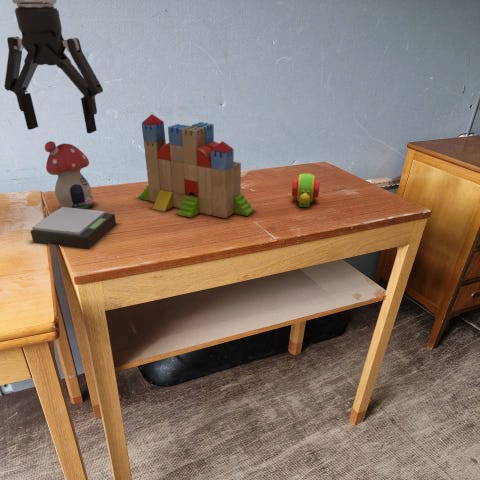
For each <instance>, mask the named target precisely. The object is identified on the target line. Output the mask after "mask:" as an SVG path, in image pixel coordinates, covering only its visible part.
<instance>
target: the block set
mask: <svg viewBox="0 0 480 480" xmlns="http://www.w3.org/2000/svg"><path fill="white" fill-rule="evenodd" d="M214 127H215V125H214V123H212V122H211V123H210V122H202V121H199V122H196V123H193V124H191V125H188V124H187V125H185V124H179V123H176V124H174V125H169V126H168V127H167V135H168V143H167V141H166V132H165V122H164V120H162V119H160V118H159V117H158V116H156V115H155V114H153V113H151V114H149V116H148V117H146V118H145V119H144V120H143V121H142V122H141V130H142V131H141V132H142V137H143V138H142V139H143V148H144V158H145V165H146V175H147V176H146V177H147V184H148V185H147V186H146V187H145V188H144V189H143V191H142V192H141V193H140V194H138V199H139V200H144V201H147V202H152V203H154V204H153V206H152V209H153V210H157V211H160V212H166V211H169V210H170V209H171V208H173V207H174V208H178V209H179V210H178V211H177V215H178V216H182V217H185V218H192V217H194V216H196V215H198V214H199V213H200V214H204V215H209V216H214V217H218V218H222V219H227V218H229V217H230V216H232V215H233V214H237V215H241V216H247V217H248V216H249V215H250V214H252V213H253V212H254V211H255V207H253V206H252V204H251V203H250V202H248V198H245V194H243V193H241V192H242V191H241V187H242V186H241V185H242V162H240V161H234V159H235V156H234V154H235V153H234V152H235V150H234V148H233V147H232V146H230V145H229V144H228V143H227V142H225V141H220V143H219V142H217V141H215V140H214V139H215V137H214V136H215V133H214V130H215V128H214Z"/></svg>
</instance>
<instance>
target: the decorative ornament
mask: <svg viewBox="0 0 480 480" xmlns="http://www.w3.org/2000/svg"><path fill="white" fill-rule="evenodd" d="M44 151H45V152H47V153H49V154H48V156H47V159H46V163H45V169H46V172H47V173H48V174H49V175H52V176H57V179H56V182H55V186H54V191H55V192H54V194H55V197H56V199H57V201H58V203H59V204H60V206H61V207H68V208H77V209H87V210H91V208H93V207H94V198H93V195H92V189H91V185H90V184H89V181H88V180H87V178H86V177H85V176H84V175H83V174H82V173H81V170H83V169H84V168H86V167H88V166H89V165H90V160H89V159H88V157H87V156H86V154H85V153H84V152H83V151H82V150H81V149H79V148H78V147H77V146H75V145H74V144H70V143H61V144H58V145H56V143H55V142H54V141H51V140H50V141H47V142H46V143H45V144H44Z"/></svg>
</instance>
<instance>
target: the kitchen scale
mask: <svg viewBox="0 0 480 480" xmlns="http://www.w3.org/2000/svg"><path fill="white" fill-rule="evenodd" d="M116 225H117V222H116V216H115V213H110V212H109V213H108V212H106V211H105V210H97V209H96V210H95V209H77V208H68V207H62V206H61V207H59V208H58V209H56V210H55V211H54V212H52V213H50V214H49V215H48V216H46V217H45V218H43V219H42V220H41V221H38V223H36V224H34V225H33V226H31V228H32V229H31V230H30V235H31V238H32V241H33V243H38V244H46V245H55V246H62V247H63V246H64V247H70V248H71V247H73V248H81V249H91V248H92V247H93V246H94V245H95V244H96V243H97V242H98V241H99V240H101V239H102V238H103V237H104V236H105V235H106V234H107V233H108V232H109V231H111V230H112V229H113V228H114V227H116Z"/></svg>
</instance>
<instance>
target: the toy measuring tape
mask: <svg viewBox="0 0 480 480" xmlns="http://www.w3.org/2000/svg"><path fill="white" fill-rule="evenodd" d="M315 177H316V176H315V175H313V173H301V174H298V178H295V179H293V180H292V184H291V185H292V186H291V196H292V197H294V198H296V202H298V207H300V208H310V203H313V199H317V198H319V194H320V193H319V192H320V183H321V182H320V181H319V180H317V179H316V178H315ZM315 179H316V180H315Z"/></svg>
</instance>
